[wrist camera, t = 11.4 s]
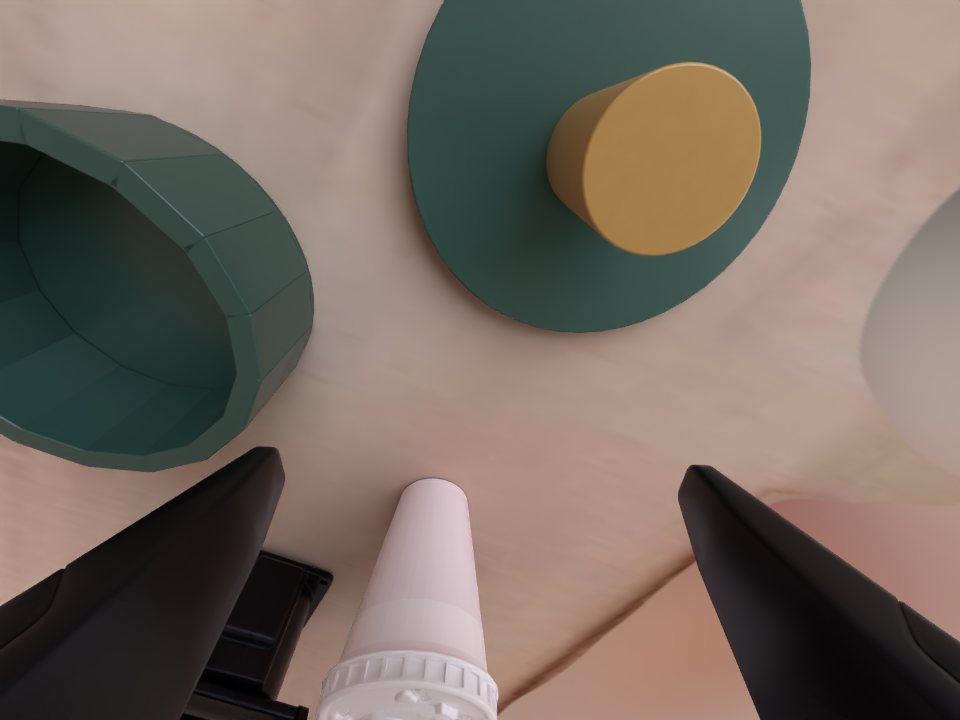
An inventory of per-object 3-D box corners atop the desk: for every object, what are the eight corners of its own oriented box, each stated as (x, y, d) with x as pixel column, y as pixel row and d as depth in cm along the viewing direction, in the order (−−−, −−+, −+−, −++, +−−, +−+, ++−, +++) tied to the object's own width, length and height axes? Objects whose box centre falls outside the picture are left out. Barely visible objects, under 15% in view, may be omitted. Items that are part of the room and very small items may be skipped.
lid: (620, 369, 18) (684, 477, 12) (357, 225, 15) (280, 280, 10) (874, 71, 13) (1192, 20, 7) (544, -237, 10) (627, -748, 4)
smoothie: (351, 498, 22) (197, 944, 10) (435, 439, 20) (368, 911, 8) (433, 554, 25) (388, 967, 13) (515, 506, 23) (558, 947, 10)
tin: (271, 433, 20) (215, 511, 16) (4, 327, 17) (-148, 387, 13) (355, 222, 15) (306, 254, 11) (1, 29, 13) (-241, -25, 8)
